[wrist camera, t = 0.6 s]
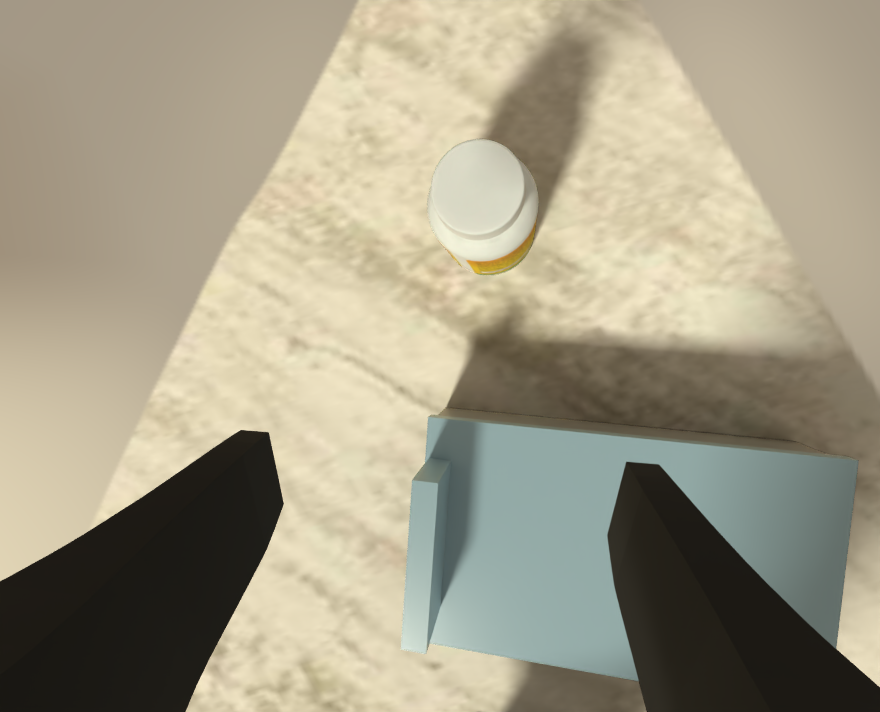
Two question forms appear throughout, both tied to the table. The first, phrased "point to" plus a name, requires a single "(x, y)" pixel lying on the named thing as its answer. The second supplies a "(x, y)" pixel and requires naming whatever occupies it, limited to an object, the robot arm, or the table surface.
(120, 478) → the table surface
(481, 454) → the lid
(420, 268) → the table surface
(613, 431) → the tub
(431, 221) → the supplement bottle
